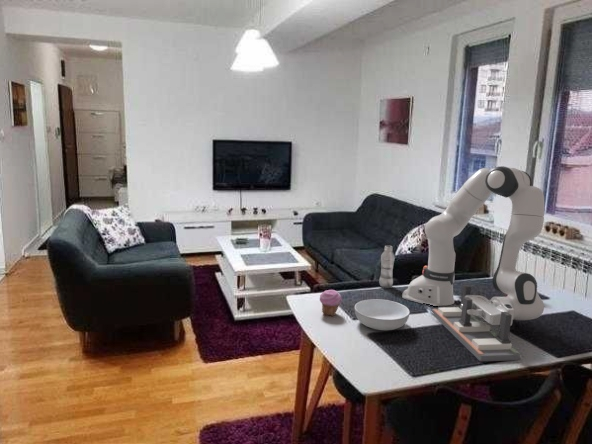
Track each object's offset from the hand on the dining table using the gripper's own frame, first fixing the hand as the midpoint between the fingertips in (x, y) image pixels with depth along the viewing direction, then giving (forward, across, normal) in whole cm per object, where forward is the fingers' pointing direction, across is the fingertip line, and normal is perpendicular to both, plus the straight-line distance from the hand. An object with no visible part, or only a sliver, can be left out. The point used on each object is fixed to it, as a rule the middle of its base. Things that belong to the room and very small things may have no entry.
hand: (464, 309), depth 172 cm
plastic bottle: (+12, -52, +10) cm, 55 cm away
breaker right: (-8, +14, +6) cm, 17 cm away
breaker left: (-8, -14, +6) cm, 17 cm away
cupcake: (+46, -22, +10) cm, 51 cm away
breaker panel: (-4, 0, +10) cm, 11 cm away
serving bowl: (+28, -10, +10) cm, 32 cm away
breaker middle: (-1, 0, +6) cm, 6 cm away
